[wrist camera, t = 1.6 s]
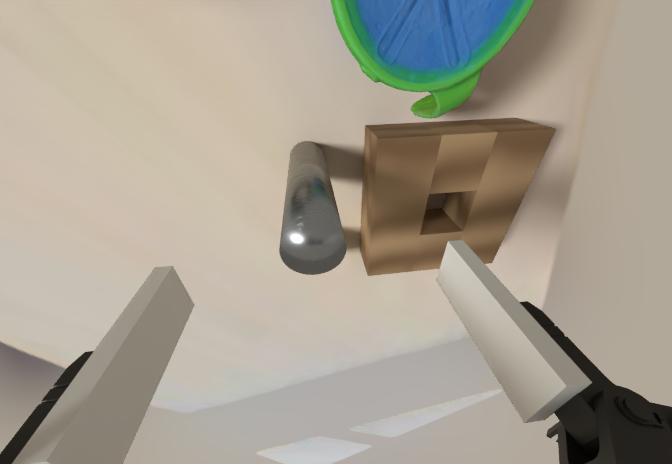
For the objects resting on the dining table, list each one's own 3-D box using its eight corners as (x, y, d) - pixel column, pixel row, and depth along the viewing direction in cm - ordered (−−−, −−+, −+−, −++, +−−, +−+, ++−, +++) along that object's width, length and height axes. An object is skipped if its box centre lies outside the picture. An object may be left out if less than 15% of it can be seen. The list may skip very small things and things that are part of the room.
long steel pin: (287, 142, 24) (274, 226, 12) (323, 140, 24) (346, 220, 12) (292, 176, 26) (284, 277, 14) (325, 174, 26) (346, 271, 14)
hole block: (365, 125, 24) (378, 138, 20) (515, 117, 25) (556, 128, 21) (359, 249, 33) (367, 275, 29) (469, 239, 35) (491, 263, 31)
